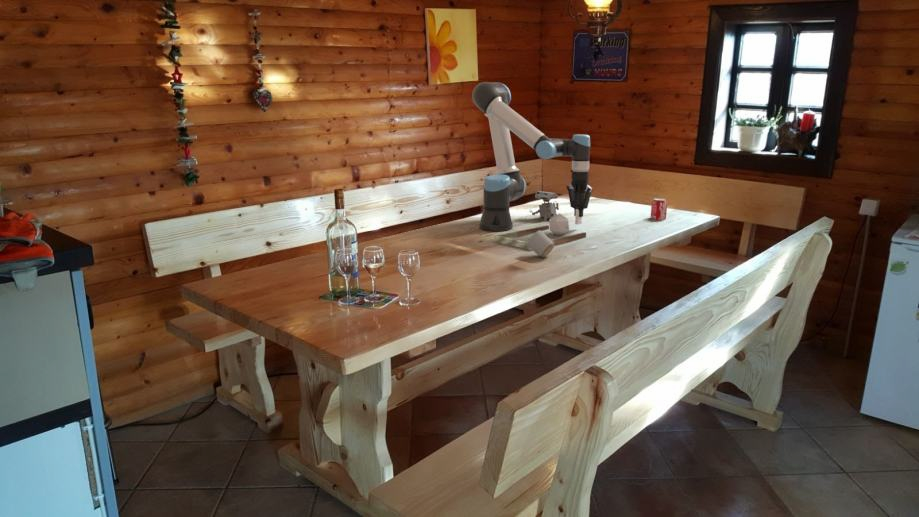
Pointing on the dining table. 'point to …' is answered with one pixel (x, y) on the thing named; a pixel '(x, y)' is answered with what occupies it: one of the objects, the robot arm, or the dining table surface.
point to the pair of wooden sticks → (510, 240)
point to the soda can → (658, 209)
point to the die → (559, 224)
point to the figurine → (546, 205)
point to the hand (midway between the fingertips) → (578, 223)
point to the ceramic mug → (540, 244)
